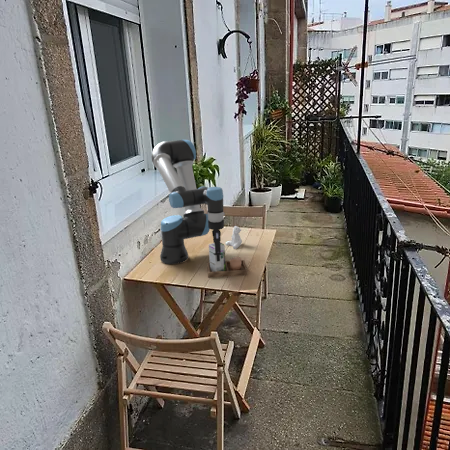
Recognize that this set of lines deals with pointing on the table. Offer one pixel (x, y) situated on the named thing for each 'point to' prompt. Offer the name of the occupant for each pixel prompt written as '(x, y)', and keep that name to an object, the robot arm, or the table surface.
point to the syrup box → (212, 258)
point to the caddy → (228, 270)
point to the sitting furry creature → (235, 238)
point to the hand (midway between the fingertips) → (217, 260)
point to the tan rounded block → (235, 263)
